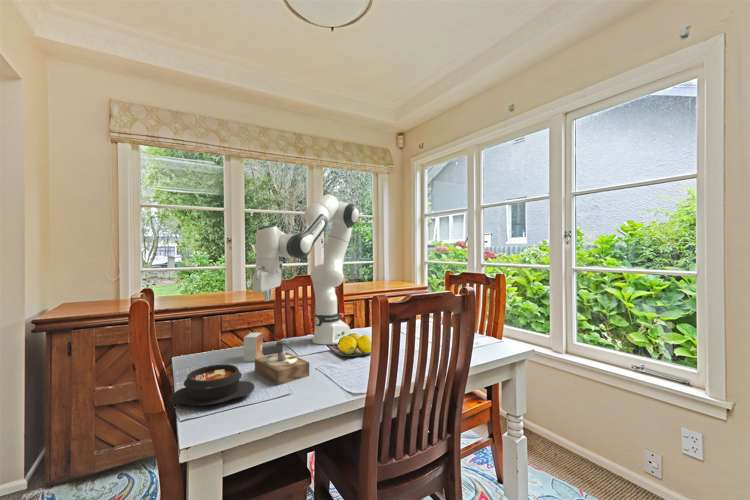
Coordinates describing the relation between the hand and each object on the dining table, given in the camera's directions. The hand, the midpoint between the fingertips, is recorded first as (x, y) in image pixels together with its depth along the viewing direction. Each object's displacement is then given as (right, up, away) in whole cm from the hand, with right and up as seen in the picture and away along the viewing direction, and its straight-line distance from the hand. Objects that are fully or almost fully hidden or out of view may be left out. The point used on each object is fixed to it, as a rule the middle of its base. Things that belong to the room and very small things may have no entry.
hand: (267, 300), depth 137 cm
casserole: (-9, -28, -26) cm, 39 cm away
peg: (+7, -22, -6) cm, 24 cm away
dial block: (+7, -27, -5) cm, 29 cm away
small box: (-10, -27, +12) cm, 31 cm away
